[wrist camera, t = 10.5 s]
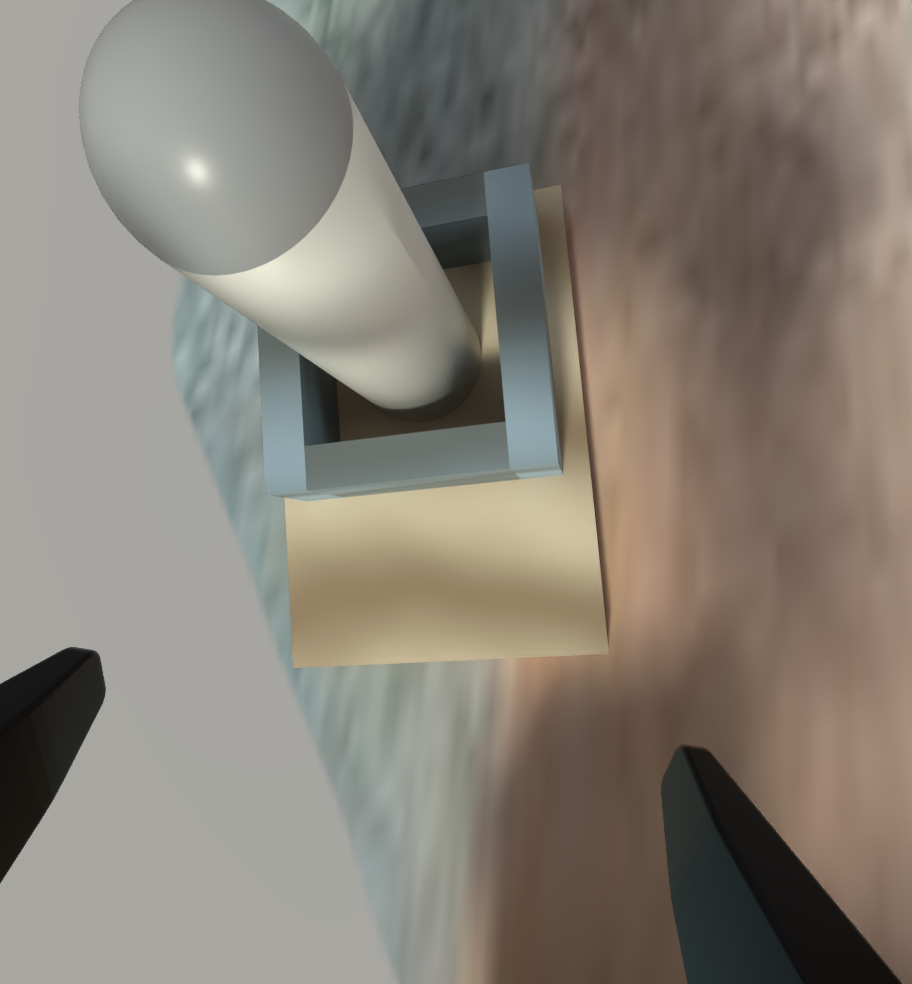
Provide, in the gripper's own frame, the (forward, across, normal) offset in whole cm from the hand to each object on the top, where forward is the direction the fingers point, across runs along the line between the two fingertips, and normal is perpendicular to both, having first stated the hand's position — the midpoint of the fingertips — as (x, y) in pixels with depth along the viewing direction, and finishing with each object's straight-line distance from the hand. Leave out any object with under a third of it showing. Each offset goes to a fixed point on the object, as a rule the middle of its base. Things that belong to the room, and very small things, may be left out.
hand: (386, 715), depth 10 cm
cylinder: (+15, +1, -1) cm, 15 cm away
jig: (+15, +1, +2) cm, 15 cm away
